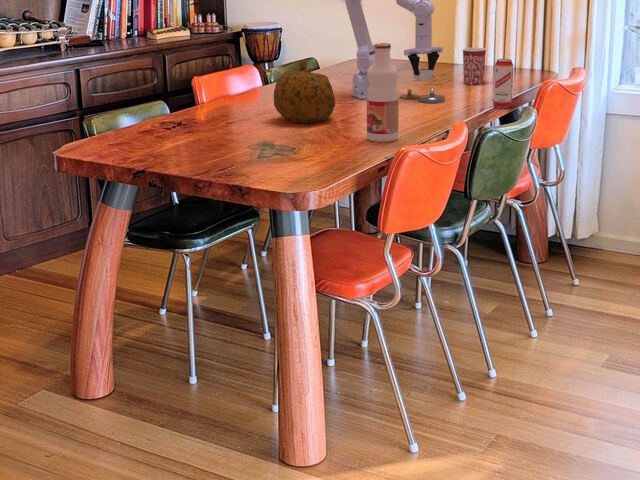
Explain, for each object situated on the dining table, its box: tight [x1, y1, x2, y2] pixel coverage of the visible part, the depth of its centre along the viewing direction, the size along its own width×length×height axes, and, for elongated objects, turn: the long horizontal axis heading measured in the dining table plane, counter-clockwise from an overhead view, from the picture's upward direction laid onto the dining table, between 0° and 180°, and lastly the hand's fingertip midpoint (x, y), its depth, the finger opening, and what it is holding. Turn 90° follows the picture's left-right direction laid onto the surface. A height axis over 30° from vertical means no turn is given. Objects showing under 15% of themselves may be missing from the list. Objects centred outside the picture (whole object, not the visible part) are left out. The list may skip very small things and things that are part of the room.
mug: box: [462, 47, 487, 86], centre depth 359 cm, size 13×9×14 cm
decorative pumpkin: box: [273, 60, 336, 125], centre depth 299 cm, size 20×21×20 cm
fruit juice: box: [366, 42, 400, 143], centre depth 269 cm, size 9×9×28 cm
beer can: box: [492, 58, 514, 109], centre depth 312 cm, size 6×6×16 cm
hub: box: [419, 87, 446, 104], centre depth 328 cm, size 9×9×4 cm
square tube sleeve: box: [412, 67, 434, 82], centre depth 328 cm, size 5×5×4 cm
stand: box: [399, 88, 420, 100], centre depth 335 cm, size 7×7×3 cm
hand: (423, 74), depth 328 cm, fingers closed on square tube sleeve, 5 cm apart
